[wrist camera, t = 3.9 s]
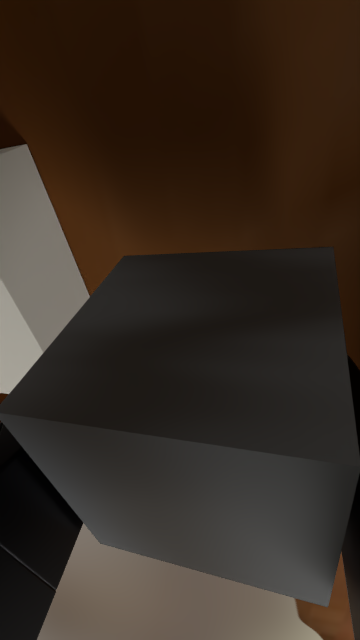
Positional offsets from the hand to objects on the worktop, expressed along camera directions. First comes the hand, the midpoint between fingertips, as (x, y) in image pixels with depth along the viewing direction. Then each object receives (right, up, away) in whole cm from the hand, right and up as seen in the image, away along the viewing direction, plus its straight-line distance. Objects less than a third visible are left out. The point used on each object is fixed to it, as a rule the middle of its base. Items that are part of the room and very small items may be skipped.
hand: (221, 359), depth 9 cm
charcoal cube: (0, +1, +1) cm, 1 cm away
